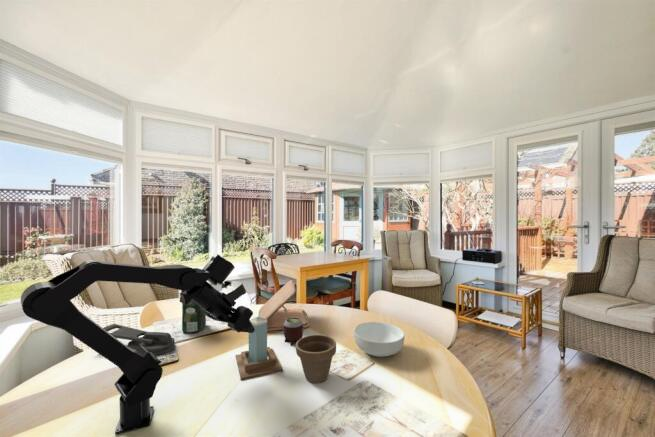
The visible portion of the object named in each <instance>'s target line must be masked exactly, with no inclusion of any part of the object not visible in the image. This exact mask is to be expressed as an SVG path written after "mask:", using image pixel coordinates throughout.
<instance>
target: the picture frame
mask: <svg viewBox="0 0 655 437" xmlns="http://www.w3.org/2000/svg"><path fill="white" fill-rule="evenodd" d="M235 360H236V364H237V368H238V373H239V374H238V375H239V377H240V380H241V381H243V380H247V379H252V378H257V377H261V376H265V375H266V376H267V375H270V374H275V373H280V372H282V371H284V370H283V366H282V364H281V362H280V361H279V359H278V356H277V355H276V353H275V351H274V348H273V347H272V348H271V347H270V346H267V360H263V361H258V362H253V363H251V362H249V350H245V351H241V352H240V354H239V353H238V354H235Z"/></svg>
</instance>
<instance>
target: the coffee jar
mask: <svg viewBox="0 0 655 437" xmlns="http://www.w3.org/2000/svg"><path fill="white" fill-rule="evenodd" d="M180 291H181V292H185V291H182V290H180ZM181 292H180V293H181ZM181 305H182V307H181V309H182V310H181V311H182V312H181V314H182V315H181V331H182V332H183V333H187V334H194V333H196V332H200V331H201V330H203V329H204V328H205V326H206V324H207V318H206V317H207V316H206V315H204V314H203V309H201V308H200V306H199V305H197V304H196V303H195V302H193V301H192V300H191V301H190V302H189V303H188V304H187V305H185V304H183V303H181Z"/></svg>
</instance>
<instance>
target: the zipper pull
mask: <svg viewBox="0 0 655 437" xmlns="http://www.w3.org/2000/svg"><path fill="white" fill-rule="evenodd" d="M102 328H103V329H104V330H106V331H107V332H108V333H110V334H111V335H113V336H114V337H115V338H117V339H118V340H126V341H129V342H128V343H127V344H126V346H127V347H129V348H132V349H135V350H136V349H137V348H138V347H139V345H142V346H143V347H144V348H145V349H146V350H147V351H148V352H151V353H153V354H154V355H155V356H156V355H162V354H164V353H166V352H168V351H170V350H171V349H173V347H174V346H175V337H172V335H171V334H170V333H169V332H161V331H146V330H141V329H137V328H132V327H130V326H125V325H122V324H117V323H111V324H109V325H106V326H104V327H102ZM115 329H116V330H115ZM112 330H115V331H112ZM110 331H112V332H110Z"/></svg>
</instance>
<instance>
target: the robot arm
mask: <svg viewBox="0 0 655 437" xmlns="http://www.w3.org/2000/svg"><path fill="white" fill-rule="evenodd" d="M234 269H235V265H234V264H233V263H232V262H231V261H229V260H227V259H226V258H225V257H222V256H221V255H220V254H217V253H214V254H213V255H212V256H211V258H210V260H209V261H208V262H207V263H206V264H205V265H204V266H203V268H198V267H194V268H193V267H190V266H186V265H183V264H166V265H160V266H150V265H149V266H148V265H140V264H129V263H127V264H126V263H118V262H117V263H116V262H108V261H98V260H95V259H87V260H84V261H83V262H82V263H80V264H78V265H76V266H75V267H73V268H70V269H68V270H66V271H65V272H62V273H59V274H57V275H56V276H54V277H52V278H50V279H49V280H47V281H39V282H35V283H33V284H30V285H29V286H28V287H26V288H25V289H24V290H23V291H22V293H21V296H20V303H21V304H20V305H21V308H22V311H23V313H24V314H25V315H26V316H27V317H28V318H30V319H33V320H34V321H38V322H40V323H41V324H44V325H47V326H51V327H54V328H57V329H60V330H63V331H65V332H66V333H68V334H70V335H71V336H73V337H74V338H75V339H77V340H79V342H81V343H82V344H84V345H85V346H87V347H88V348H90V349H91V350H92V351H94V352H96V353H97V354H99V355H100V356H101V357H103V358H105V359H106V360H108V361H109V362H111V363H112V364H114V365H115V366H117V367H118V368H119V369H120V371H121V372H122V375H121V376H120V377H119V378H118V379H117V381H115V383H114V387H115V388H116V390H117V392H118V393H119V394H120V396H119V420H118V422H117V425H116V427H115V430H114V433H115V435H117V434H122V433H126V432H130V431H134V430H137V429H142V428H145V427H149V426H150V424H151V422H152V417H153V413H154V409H155V407H154V406H153V405H151V401H150V400H151V398H153V396H154V393H155V390H156V387H157V386H158V385H157V384H158V383H159V382H160V380H161V378H162V376H163V371H164V369H163V367H162V366H161V365H160V364H162V361H161V360H160V359H159V358H158V357H157V356H156V355H154V354H153V353H151V352H148V351H147V350H146V349H145V348H144V347H143V346H142V345H139V347H138V348H137V349H136V350H135V349H132V348H129V347H127V344H125V343H123V342H122V341H121V340H120V339H119V338H115V337H114V336H113V335H111V334H110V333H111V332H109V331H108V332H107V331H106V330H104V329H103V328H104V327H102V326H100V325H99V324H98V323H96V322H95V321H94V320H92V319H91V318H90V317H88V315H86V314H85V313H83V312H82V311H80V309H78V308H77V306H76V305H75V304H74V303H73V302H72V300H73V299H75V298H76V297H77V296H78V295H81V293H83V292H84V291H86V290H87V289H88V288H89V287H90V286H91V285H93V284H94V283H96V282H98V281H99V282H110V283H111V282H112V283H115V282H116V283H133V284H149V285H150V284H152V285H159V286H162V287H167V288H170V289H174V290H179V291H181V290H182V291H185V292H180V293H179V302H180V304H182V303H183V304H185V305H187V304H188V303H189V302H190V301H191V300H192V301H193V302H195V303H196V304H197V305H199V306H200V308H201V309H203V314H204V315H206V317H207V318H209V319H211V320H213V321H216V322H221V323H226V324H227V327H228V328H230V329H232V331H235V332H236V333H247V334H249V333H253V332H254V331H255V329H254V327H253V325H252V323H251V321H250V319H252V317H253V315H254V311H252V309H250V308H249V307H246V306H244V305H239V306H237V307H236V308H235V307H234V306H235V305H236V304H237V302H236V301H237V300H238V299H239V298H241V297H242V296H244V295H246V293H247V290H246V288H245V286H244V284H243V282H241V281H239V280H231V281H229V280H227V278H228V277H229V275H231V273H232V272H233V271H234ZM210 283H211V284H210ZM213 285H214V286H217V285H221V289H220V291H219V290H218V289H216V288H215V287H214V286H213Z"/></svg>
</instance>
